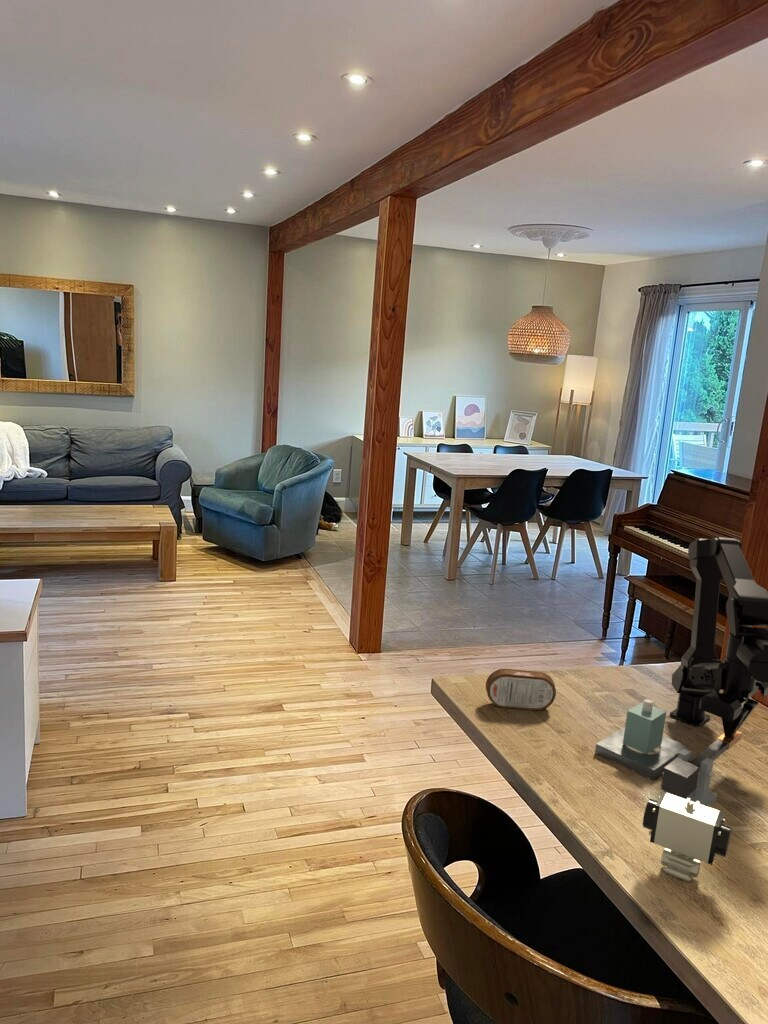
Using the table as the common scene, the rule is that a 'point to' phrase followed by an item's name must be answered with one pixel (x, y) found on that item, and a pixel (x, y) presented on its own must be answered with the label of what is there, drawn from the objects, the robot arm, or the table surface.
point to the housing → (644, 727)
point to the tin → (520, 689)
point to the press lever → (693, 767)
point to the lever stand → (701, 780)
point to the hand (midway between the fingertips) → (729, 736)
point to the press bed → (639, 754)
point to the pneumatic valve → (686, 833)
